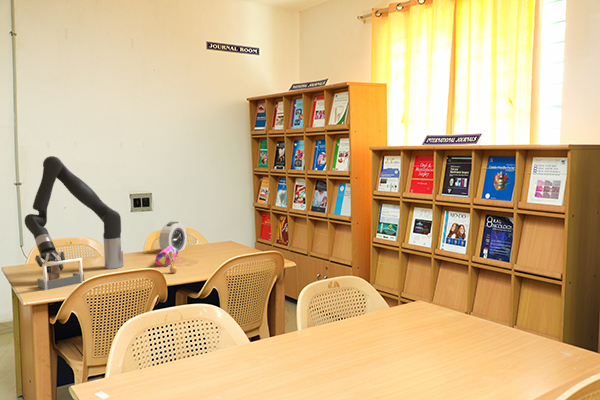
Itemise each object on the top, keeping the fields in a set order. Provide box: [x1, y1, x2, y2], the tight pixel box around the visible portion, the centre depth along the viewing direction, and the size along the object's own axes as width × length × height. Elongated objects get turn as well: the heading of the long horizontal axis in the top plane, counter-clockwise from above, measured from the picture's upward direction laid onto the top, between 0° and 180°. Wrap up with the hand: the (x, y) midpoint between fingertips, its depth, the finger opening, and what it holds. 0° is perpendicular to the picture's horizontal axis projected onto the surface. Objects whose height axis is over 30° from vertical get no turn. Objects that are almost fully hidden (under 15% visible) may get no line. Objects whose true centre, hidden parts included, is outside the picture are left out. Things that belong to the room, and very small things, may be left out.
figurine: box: [165, 251, 179, 274], centre depth 271 cm, size 8×6×12 cm
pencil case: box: [155, 246, 179, 267], centre depth 297 cm, size 22×9×9 cm, turn 2°
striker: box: [47, 265, 61, 281], centre depth 254 cm, size 4×4×10 cm
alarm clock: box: [158, 221, 188, 252], centre depth 332 cm, size 21×8×20 cm, turn 160°
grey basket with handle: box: [37, 257, 85, 291], centre depth 248 cm, size 20×9×13 cm, turn 137°
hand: (55, 270), depth 252 cm, fingers open, 5 cm apart
